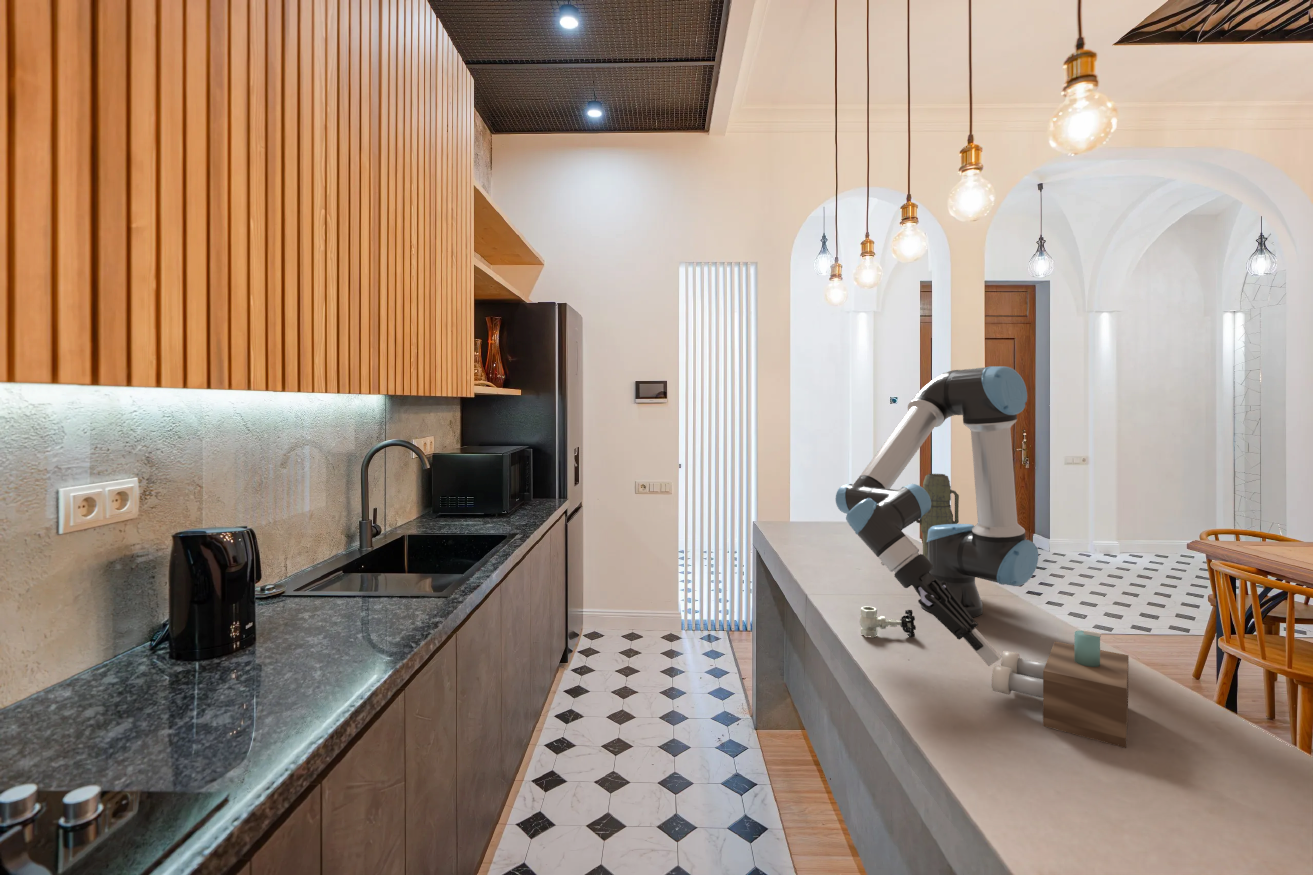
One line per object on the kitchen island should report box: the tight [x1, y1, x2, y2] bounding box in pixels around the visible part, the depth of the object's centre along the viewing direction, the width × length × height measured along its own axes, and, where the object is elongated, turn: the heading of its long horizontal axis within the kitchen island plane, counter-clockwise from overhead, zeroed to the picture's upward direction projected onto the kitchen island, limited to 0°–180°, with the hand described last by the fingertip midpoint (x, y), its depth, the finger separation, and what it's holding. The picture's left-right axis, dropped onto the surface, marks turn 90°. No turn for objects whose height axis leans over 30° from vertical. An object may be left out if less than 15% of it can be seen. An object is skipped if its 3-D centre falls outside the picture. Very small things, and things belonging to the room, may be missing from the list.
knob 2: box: [991, 664, 1043, 699], centre depth 104 cm, size 13×5×5 cm, turn 51°
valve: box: [859, 606, 917, 638], centre depth 143 cm, size 7×7×12 cm
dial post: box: [1074, 629, 1102, 667], centre depth 103 cm, size 4×4×6 cm
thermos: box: [915, 473, 960, 558], centre depth 180 cm, size 9×12×35 cm
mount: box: [1042, 641, 1129, 749], centre depth 103 cm, size 16×11×10 cm, turn 141°
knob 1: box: [1000, 650, 1046, 680], centre depth 111 cm, size 13×5×5 cm, turn 51°
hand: (995, 661), depth 115 cm, fingers closed
